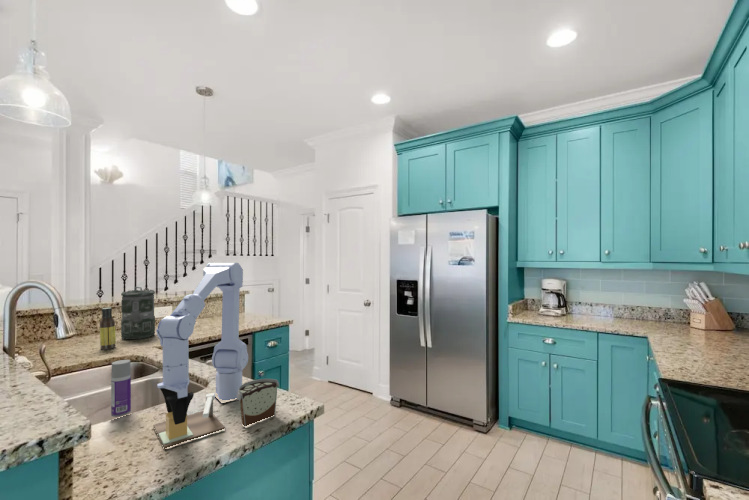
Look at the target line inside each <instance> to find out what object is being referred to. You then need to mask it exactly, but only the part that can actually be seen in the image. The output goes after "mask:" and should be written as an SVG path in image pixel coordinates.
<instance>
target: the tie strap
mask: <svg viewBox="0 0 749 500" xmlns="http://www.w3.org/2000/svg"><path fill="white" fill-rule="evenodd" d="M215 393H216V392H212V393H211V392H210V393H206V395H205V401H206V402H205V404H204V409H203V411H204V412H203V418H207V417H208V416H209V412H210V408H211V403H212V400H213V401H214V400H215Z"/></svg>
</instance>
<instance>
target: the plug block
mask: <svg viewBox="0 0 749 500" xmlns="http://www.w3.org/2000/svg"><path fill="white" fill-rule="evenodd" d="M187 415H188V414H187ZM187 415H186V419H185V422H183V423H180V424H177V425H175V423H174V420H173V414H172V412H170V413H168V412H166V413H165V421H166V435H167V436H168V438H169V440H170V439H173V438H176V437H179V436H183V435H186V434H187Z"/></svg>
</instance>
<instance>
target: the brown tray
mask: <svg viewBox="0 0 749 500" xmlns="http://www.w3.org/2000/svg"><path fill="white" fill-rule="evenodd" d="M203 412H204V410H203V411H202V410H201V411H198V412H194V413H192V414H187V426H188V428H189V429H190V431H191V432H192V433H193V436H191V437H187V438H184V439H181V440H178V441H175V442H172V443H168V444H165V445H164V444H163V442H162V440H161V438H160V436H159V433H162V432H165V431H166V420H165V421H162V422H159V423H155V424H153V429H154V428H155V430H156V432H157V434H158V437H159V439H160V441H161V443H162V445H163V447H164V449H165V448H167V447H170V446H173V445H176V444H179V443H181V442H184V441H187V440H191V439H194V438H198V437H201V436H204V435H207V434H210V433H213V432H216V431H219V430H222V429H224V428H225V429H226V426H225V425H224V424H223V423H222V422H221V421H220V420H219V419H218V418H217V416H216V415H215V414H214V400H212V403H211V408H210V412H209V416H208V417H207V418H203ZM158 437H157V438H158ZM159 439H158V440H159ZM160 441H159V442H160ZM161 443H160V444H161ZM162 445H161V446H162ZM163 447H162V448H163ZM164 449H163V450H164Z"/></svg>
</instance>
